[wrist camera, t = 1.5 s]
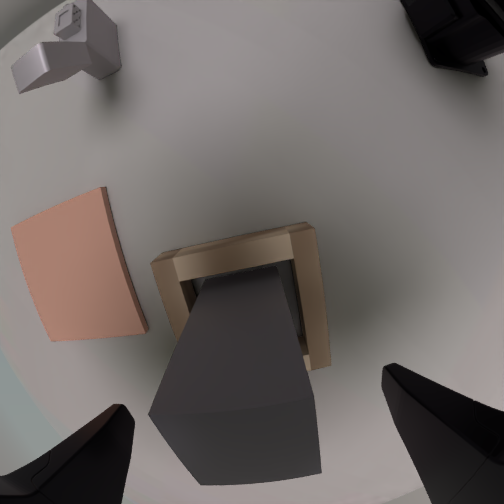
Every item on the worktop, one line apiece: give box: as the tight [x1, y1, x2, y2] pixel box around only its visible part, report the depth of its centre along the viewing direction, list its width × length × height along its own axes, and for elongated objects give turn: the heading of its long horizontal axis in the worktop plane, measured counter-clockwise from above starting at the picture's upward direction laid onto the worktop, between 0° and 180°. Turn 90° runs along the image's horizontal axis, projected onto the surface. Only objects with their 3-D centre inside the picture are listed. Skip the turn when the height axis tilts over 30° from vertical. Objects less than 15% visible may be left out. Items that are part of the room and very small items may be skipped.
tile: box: [11, 187, 149, 341], centre depth 15 cm, size 9×9×1 cm
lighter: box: [11, 0, 121, 94], centre depth 8 cm, size 7×2×8 cm, turn 14°
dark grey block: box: [148, 265, 322, 485], centre depth 11 cm, size 4×4×10 cm
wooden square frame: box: [150, 222, 331, 371], centre depth 15 cm, size 8×8×2 cm
